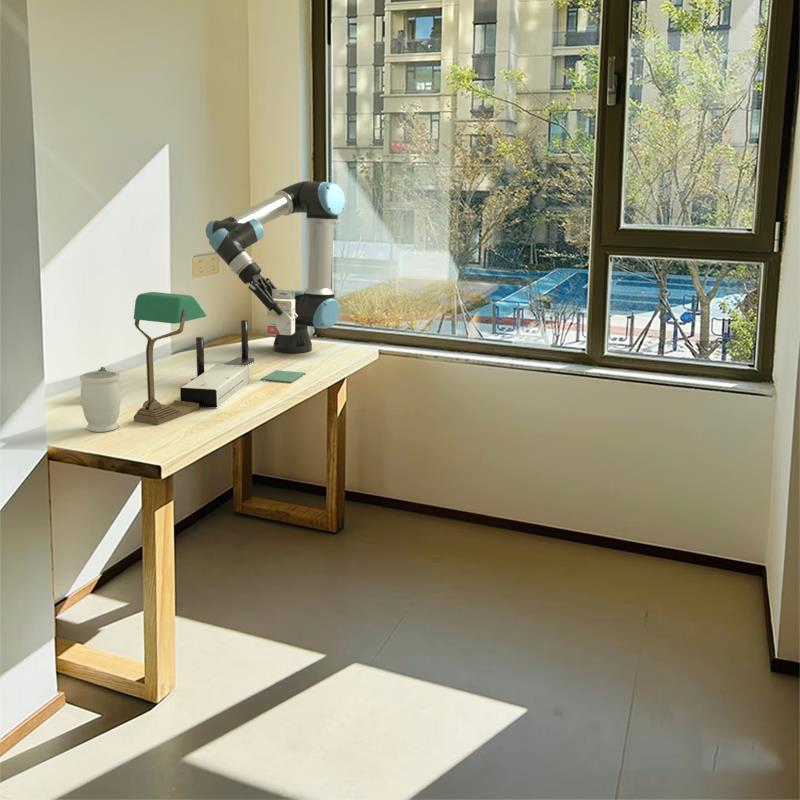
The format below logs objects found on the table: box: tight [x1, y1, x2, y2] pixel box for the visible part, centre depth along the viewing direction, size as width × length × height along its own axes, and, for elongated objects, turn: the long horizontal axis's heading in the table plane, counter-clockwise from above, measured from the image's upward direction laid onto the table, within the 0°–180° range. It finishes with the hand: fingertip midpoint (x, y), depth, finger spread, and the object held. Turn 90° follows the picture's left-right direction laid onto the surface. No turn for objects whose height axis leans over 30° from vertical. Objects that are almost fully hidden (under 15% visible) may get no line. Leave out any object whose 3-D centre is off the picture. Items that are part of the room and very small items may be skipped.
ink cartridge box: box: [266, 288, 296, 335], centre depth 312 cm, size 9×5×15 cm, turn 80°
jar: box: [79, 370, 122, 433], centre depth 252 cm, size 11×10×15 cm
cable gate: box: [190, 319, 255, 381], centre depth 321 cm, size 38×6×16 cm, turn 166°
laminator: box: [179, 363, 250, 408], centre depth 293 cm, size 34×12×6 cm, turn 173°
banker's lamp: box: [133, 291, 208, 426], centre depth 264 cm, size 16×21×35 cm
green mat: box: [260, 369, 306, 384], centre depth 318 cm, size 14×11×1 cm
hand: (291, 319), depth 312 cm, fingers closed on ink cartridge box, 5 cm apart
